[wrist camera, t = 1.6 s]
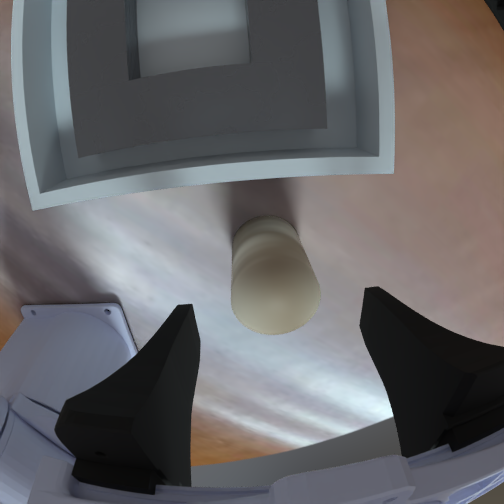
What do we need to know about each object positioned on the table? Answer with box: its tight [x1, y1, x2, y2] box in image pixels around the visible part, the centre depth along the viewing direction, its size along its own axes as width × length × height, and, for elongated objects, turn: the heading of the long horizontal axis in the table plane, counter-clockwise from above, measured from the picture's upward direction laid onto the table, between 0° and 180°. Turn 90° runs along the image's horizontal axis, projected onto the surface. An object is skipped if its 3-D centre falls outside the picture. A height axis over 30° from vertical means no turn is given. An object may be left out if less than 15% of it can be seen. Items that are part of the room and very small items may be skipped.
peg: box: [231, 216, 321, 335], centre depth 16 cm, size 4×4×6 cm
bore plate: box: [66, 0, 327, 158], centre depth 12 cm, size 12×12×2 cm
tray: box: [11, 0, 395, 211], centre depth 11 cm, size 18×16×4 cm
